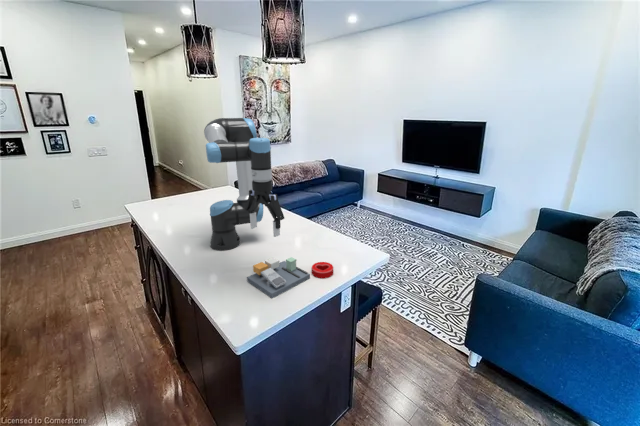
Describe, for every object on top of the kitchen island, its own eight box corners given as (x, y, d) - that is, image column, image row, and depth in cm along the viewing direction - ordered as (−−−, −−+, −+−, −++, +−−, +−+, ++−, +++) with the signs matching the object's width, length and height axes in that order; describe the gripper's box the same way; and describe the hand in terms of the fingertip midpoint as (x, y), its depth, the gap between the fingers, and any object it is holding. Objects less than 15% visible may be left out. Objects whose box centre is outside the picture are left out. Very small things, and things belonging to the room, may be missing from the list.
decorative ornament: (317, 280, 124) (317, 274, 123) (308, 270, 132) (308, 264, 131) (337, 276, 127) (337, 269, 126) (327, 265, 136) (327, 259, 135)
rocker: (260, 273, 118) (260, 271, 118) (270, 269, 122) (270, 266, 121) (275, 288, 112) (276, 285, 112) (285, 283, 116) (286, 280, 115)
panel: (247, 281, 122) (246, 273, 121) (284, 264, 136) (284, 257, 135) (272, 298, 111) (271, 289, 110) (309, 278, 125) (309, 270, 124)
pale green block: (286, 269, 128) (285, 259, 126) (291, 266, 130) (291, 257, 128) (291, 271, 126) (290, 262, 124) (296, 268, 128) (296, 259, 126)
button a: (253, 271, 123) (252, 265, 122) (262, 267, 126) (261, 261, 125) (259, 275, 120) (259, 269, 119) (268, 271, 123) (268, 265, 122)
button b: (265, 266, 127) (264, 260, 126) (273, 262, 130) (273, 257, 129) (271, 270, 124) (271, 264, 123) (279, 266, 127) (279, 260, 126)
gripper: (233, 177, 116) (238, 227, 123) (277, 186, 101) (280, 242, 108) (248, 174, 121) (252, 222, 128) (292, 182, 107) (294, 236, 114)
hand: (265, 231), depth 118 cm, fingers open, 13 cm apart
